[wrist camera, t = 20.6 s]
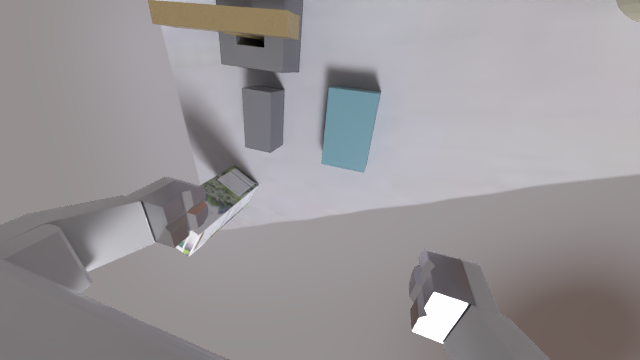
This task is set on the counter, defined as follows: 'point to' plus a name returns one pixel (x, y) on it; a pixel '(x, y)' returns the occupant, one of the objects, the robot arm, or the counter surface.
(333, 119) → the cover
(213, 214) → the syrup box
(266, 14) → the T-key
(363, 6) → the counter surface
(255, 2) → the block
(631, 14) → the reusable coffee cup
